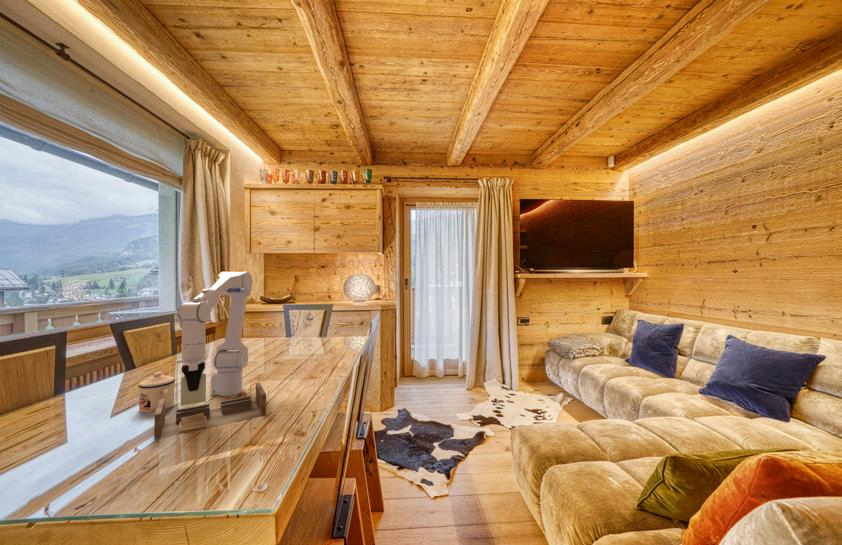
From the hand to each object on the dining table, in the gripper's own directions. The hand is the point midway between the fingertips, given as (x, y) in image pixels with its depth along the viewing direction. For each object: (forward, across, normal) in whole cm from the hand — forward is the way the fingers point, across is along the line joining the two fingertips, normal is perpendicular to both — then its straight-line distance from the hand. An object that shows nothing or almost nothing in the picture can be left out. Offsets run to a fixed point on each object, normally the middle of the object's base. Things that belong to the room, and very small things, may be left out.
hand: (193, 389), depth 96 cm
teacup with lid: (+9, -15, -9) cm, 20 cm away
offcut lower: (+8, +7, 0) cm, 11 cm away
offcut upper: (+7, +7, 0) cm, 10 cm away
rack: (+9, +4, +5) cm, 11 cm away
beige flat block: (+4, 0, 0) cm, 4 cm away
